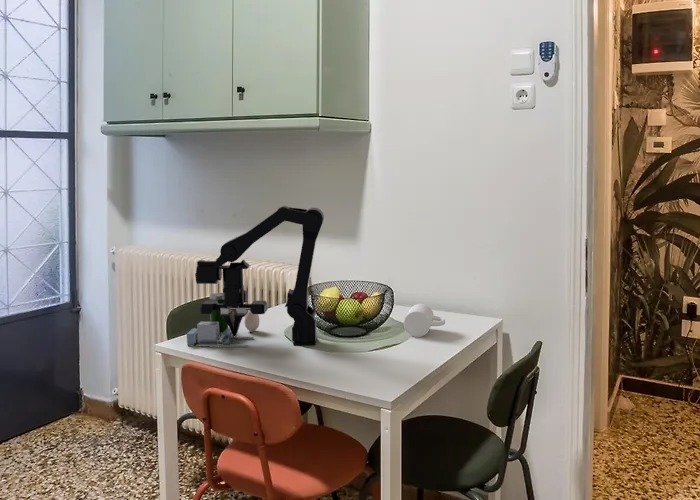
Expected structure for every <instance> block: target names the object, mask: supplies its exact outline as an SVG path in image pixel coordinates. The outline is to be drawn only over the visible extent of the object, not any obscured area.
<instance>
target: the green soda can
mask: <svg viewBox="0 0 700 500" xmlns="http://www.w3.org/2000/svg"><path fill="white" fill-rule="evenodd" d="M208 300H217V301H218V304H223V303H224V298H223V292H214V293H211V294H209V299H208ZM220 314H221V310H213V312H212V313H211V314H209V317H210V318H209V319H210V321H209V322H219V335H222V333H223V332H224V331H225V330H226V329H227V328H229V326H228V324H227V322H226V321H225V319H224V318H223V317H220Z"/></svg>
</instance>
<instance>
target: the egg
mask: <svg viewBox="0 0 700 500" xmlns="http://www.w3.org/2000/svg"><path fill="white" fill-rule="evenodd" d="M243 319H244V322H243V323H244V326H245V328H246V330H247V331H249V332H250V333H252V332H255V331H257V329H258V328H259V326H260V314H253V313H251V311H250V310H248V313H247V314H246V316H245V317H243Z"/></svg>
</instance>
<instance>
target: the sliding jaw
mask: <svg viewBox="0 0 700 500" xmlns="http://www.w3.org/2000/svg"><path fill="white" fill-rule="evenodd" d="M221 337H222V339H220V342H221V344H225V345H232V344H233V342H234V341H235V339H234V337H235V336H233V334H232V332H231V330H230V328H229V327H228V328H227V329H226V330H225V331H224V332H223V333H222V334H221Z"/></svg>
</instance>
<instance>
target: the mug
mask: <svg viewBox="0 0 700 500" xmlns="http://www.w3.org/2000/svg"><path fill="white" fill-rule="evenodd" d="M445 324H446V319H445V318H443V317H441V316H438V315H434V312H433V310H432V308H431V307H430V306H428V305H427V304H424V303H416V304H414V305H413V306H412V307H411V308H410V309H409V311H408V312H407V314H406V316H405V317H404V320H403V327H404V331H405V332H406V333H407V334H408V335H409V336H411V337H414V338H421V337H424V336H425V335H426V334H428V332H429V330H430V329H431V327H441V326H444V325H445Z"/></svg>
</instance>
